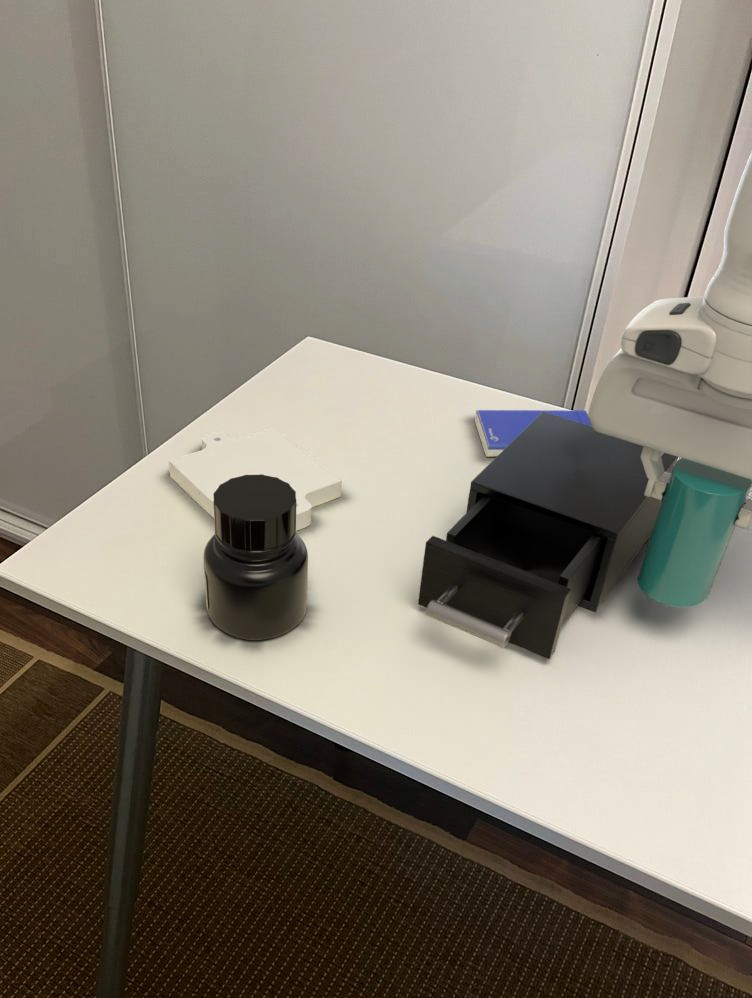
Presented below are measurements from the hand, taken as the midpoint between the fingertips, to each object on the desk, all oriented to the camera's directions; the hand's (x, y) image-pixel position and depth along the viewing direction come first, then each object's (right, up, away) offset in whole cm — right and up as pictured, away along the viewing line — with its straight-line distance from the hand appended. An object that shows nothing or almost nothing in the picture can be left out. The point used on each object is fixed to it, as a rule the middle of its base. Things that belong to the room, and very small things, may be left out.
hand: (699, 510), depth 77 cm
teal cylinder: (0, -6, +5) cm, 8 cm away
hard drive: (-4, +12, +32) cm, 34 cm away
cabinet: (-6, -1, +17) cm, 18 cm away
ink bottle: (-35, -8, +10) cm, 37 cm away
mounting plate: (-36, +6, +24) cm, 44 cm away
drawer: (-13, -7, +9) cm, 17 cm away
